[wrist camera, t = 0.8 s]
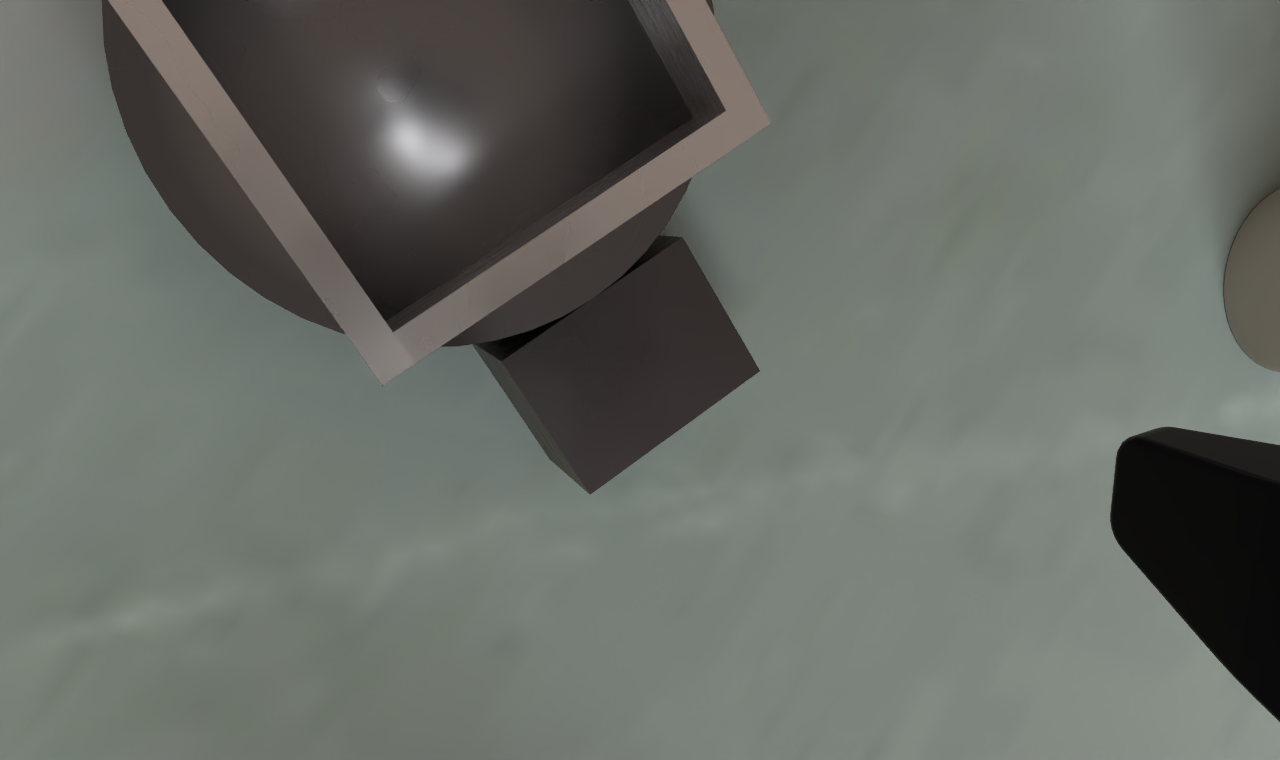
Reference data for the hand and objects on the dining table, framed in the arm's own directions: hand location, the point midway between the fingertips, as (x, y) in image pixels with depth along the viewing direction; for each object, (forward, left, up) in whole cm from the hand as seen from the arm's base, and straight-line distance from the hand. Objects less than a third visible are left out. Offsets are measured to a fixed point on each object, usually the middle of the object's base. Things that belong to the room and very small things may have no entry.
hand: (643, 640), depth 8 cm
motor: (+3, -3, -14) cm, 15 cm away
